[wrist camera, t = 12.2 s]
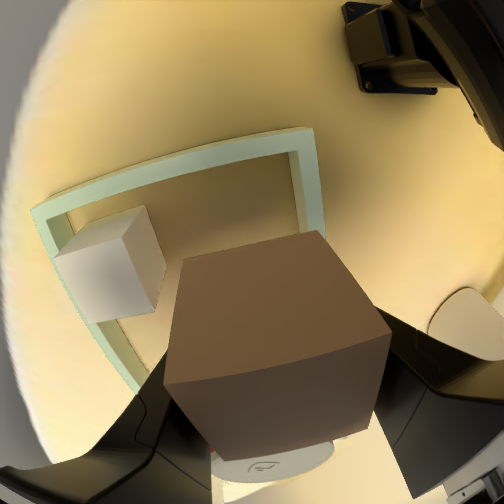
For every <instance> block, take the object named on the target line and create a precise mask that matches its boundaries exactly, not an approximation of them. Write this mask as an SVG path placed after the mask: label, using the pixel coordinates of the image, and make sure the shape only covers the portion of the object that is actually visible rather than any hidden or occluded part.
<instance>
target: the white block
mask: <svg viewBox="0 0 504 504" xmlns="http://www.w3.org/2000/svg"><path fill="white" fill-rule="evenodd" d="M53 259H54V261H55V263H56V265H57V267H58V269H59V271H60V273H61V275H62V277H63V279H64V281H65V283H66V285H67V286H68V288H69V290H70V292H71V294H72V296H73V297H74V299H75V301H76V303H77V304H78V306H79V308H80V309H81V311H82V313H83V315H84V316H85V318H86V319H87V321H88V323H89V324H91V323H97V322H103V321H108V320H114V319H120V318H125V317H130V316H136V315H141V314H146V313H152V312H155V309H156V305H157V301H158V298H159V294H160V290H161V286H162V283H163V279H164V275H165V272H166V268H167V264H166V262H165V259H164V257H163V254H162V251H161V249H160V246H159V243H158V241H157V238H156V235H155V232H154V229H153V227H152V224H151V221H150V218H149V215H148V212H147V209H146V206H145V205H142V206H139V207H135V208H132V209H129V210H126V211H123V212H119V213H116V214H113V215H110V216H107V217H104V218H101V219H98V220H95V221H92V222H89V223H87V224H86V225H85V226H84V227H83V228H82V229H81V230H80V231H79V232H78V233H77V234H76V235H75V236H74V237H73V238H72V239H71V240H70V241H69V242H68V243H67V244H66V245H65V246H64V247H63V248H62V249H61V250H60V252H59V253H58V254H57V255H56V256H55V257H54V258H53Z"/></svg>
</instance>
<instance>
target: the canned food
mask: <svg viewBox="0 0 504 504" xmlns="http://www.w3.org/2000/svg"><path fill="white" fill-rule="evenodd" d="M333 452H334V444H333V440H331V441H328V442H324V443H321V444H317V445H313V446H310V447H306V448H301V449H297V450H293V451H288V452H283V453H278V454H273V455H268V456H262V457H256V458H249V459H242V460H235V461H226V462H224V461H223V459H222V458H221V457H220V456H219V455H218V454H217V453H216V452H215V450H214V449H213V448H212V447H211V474H212V475H214V476H215V477H218V478H220V479H223V480H227V481H231V482H238V483H262V482H271V481H277V480H282V479H287V478H290V477H294V476H297V475H300V474H302V473H305V472H307V471H310V470H312V469H314V468H316V467H317V466H319V465H321V464H322V463H324V462H325V461H326V460H328V459H329V458H330V457H331V456H332V454H333Z"/></svg>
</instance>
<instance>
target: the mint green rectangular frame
mask: <svg viewBox="0 0 504 504" xmlns="http://www.w3.org/2000/svg"><path fill="white" fill-rule="evenodd" d="M284 152H288V157H289V163H290V170H291V176H292V182H293V189H294V196H295V203H296V210H297V217H298V225H299V232H300V233H305V232H309V231H314V230H318V231H319V232H320V234H321V235H322V236H323V238H324V239H325V240H326V234H325V222H324V211H323V201H322V192H321V183H320V175H319V167H318V159H317V152H316V145H315V138H314V131H313V129H311V128H305V127H294V128H287V129H281V130H275V131H269V132H263V133H258V134H252V135H247V136H242V137H237V138H233V139H228V140H223V141H219V142H215V143H210V144H206V145H202V146H198V147H194V148H190V149H186V150H183V151H179V152H175V153H172V154H168V155H165V156H161V157H158V158H154V159H151V160H148V161H145V162H141V163H138V164H135V165H132V166H129V167H126V168H123V169H120V170H117V171H114V172H111V173H109V174H106V175H103V176H100V177H98V178H95V179H92V180H90V181H87V182H85V183H82V184H79V185H77V186H74V187H72V188H70V189H67V190H65V191H62V192H60V193H58V194H55V195H53V196H51V197H49V198H47V199H45V200H44V201H42V202H41V203H39V204H38V205H36V206H35V207H33V208H32V209H30V213H31V215H32V218H33V220H34V223H35V226H36V228H37V230H38V233H39V235H40V238H41V240H42V242H43V245H44V247H45V249H46V251H47V254H48V256H49V258H50V260H51V262H52V264H53V266H54V268H55V270H56V272H57V274H58V276H59V278H60V280H61V282H62V284H63V286H64V288H65V290H66V292H67V294H68V295H69V297H70V299H71V301H72V303H73V304H74V306H75V308H76V310H77V311H78V313H79V315H80V316H81V318H82V320H83V321H84V323H85V325H86V326H87V328H88V329H89V331H90V332H91V334H92V336H93V337H94V339H95V340H96V342H97V343H98V345H99V346H100V348H101V349H102V351H103V352H104V354H105V355H106V356H107V358H108V359H109V361H110V362H111V363H112V365H113V366H114V368H115V369H116V370H117V372H118V373H119V374H120V376H121V377H122V378H123V380H124V381H125V382H126V384H127V385H128V386H129V387H130V389H131V390H132V391H133V392H134V394H135V395H136V394H138V391H139V390H140V388H141V387H142V385H143V384H144V382H145V381H146V380H147V378H148V377H149V375H150V374H149V373H148V371H147V370H146V368H145V367H144V365H143V364H142V362H141V361H140V359H139V358H138V356H137V354H136V353H135V351H134V350H133V348H132V347H131V345H130V343H129V342H128V340H127V338H126V337H125V335H124V333H123V332H122V330H121V328H120V327H119V325H118V323H117V321H116V320H115V319H114V320H108V321H103V322H97V323H91V324H89V323H88V321H87V319H86V318H85V316H84V315H83V313H82V311H81V309H80V308H79V306H78V304H77V303H76V301H75V299H74V297H73V296H72V294H71V292H70V290H69V288H68V286H67V285H66V283H65V281H64V279H63V277H62V275H61V273H60V271H59V269H58V267H57V265H56V263H55V261H54V259H53V258H54V257H55V256H56V255H57V254H58V253H59V252H60V250H61V249H62V248H63V247H64V246H65V245H66V244H67V243H68V242H69V241H70V240H71V239H72V238H73V237H74V236H75V235H74V233H73V230H72V228H71V225H70V223H69V220H68V218H67V215H66V212H67V211H70V210H73V209H75V208H78V207H81V206H84V205H86V204H89V203H92V202H95V201H98V200H101V199H103V198H106V197H109V196H112V195H115V194H119V193H122V192H125V191H128V190H131V189H134V188H138V187H141V186H144V185H148V184H151V183H154V182H158V181H161V180H165V179H169V178H172V177H176V176H180V175H183V174H187V173H191V172H195V171H199V170H203V169H207V168H211V167H216V166H220V165H224V164H229V163H233V162H238V161H243V160H247V159H252V158H257V157H262V156H268V155H273V154H279V153H284Z"/></svg>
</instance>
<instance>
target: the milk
mask: <svg viewBox="0 0 504 504" xmlns="http://www.w3.org/2000/svg"><path fill="white" fill-rule="evenodd" d="M211 480H212V491H211V492H212V504H224V500H223V489H222V479H220V478H218V477H215V476H214V475H212V474H211Z"/></svg>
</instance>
